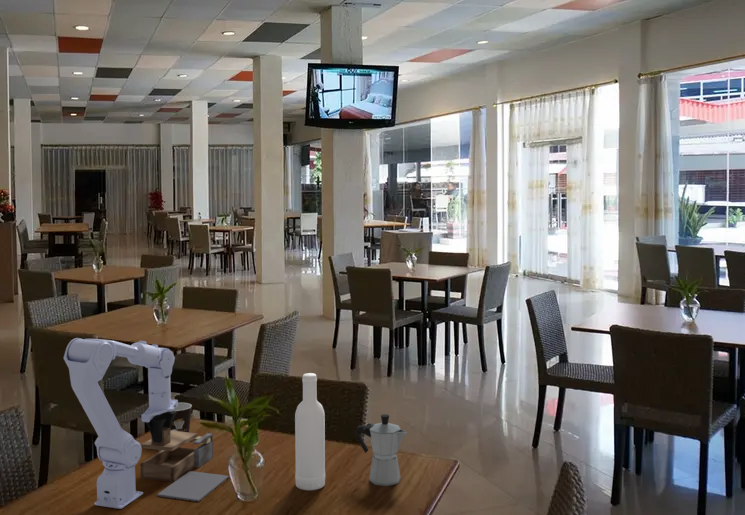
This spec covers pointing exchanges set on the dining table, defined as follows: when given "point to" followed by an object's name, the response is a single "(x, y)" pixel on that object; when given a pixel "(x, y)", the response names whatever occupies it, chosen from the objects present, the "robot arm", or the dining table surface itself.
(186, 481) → the lid mat
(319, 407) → the bottle
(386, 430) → the coffee maker
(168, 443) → the toolbox lid
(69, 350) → the robot arm
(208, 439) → the bar
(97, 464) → the dining table surface
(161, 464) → the toolbox
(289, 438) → the dining table surface
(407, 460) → the dining table surface
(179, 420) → the coffee mug
